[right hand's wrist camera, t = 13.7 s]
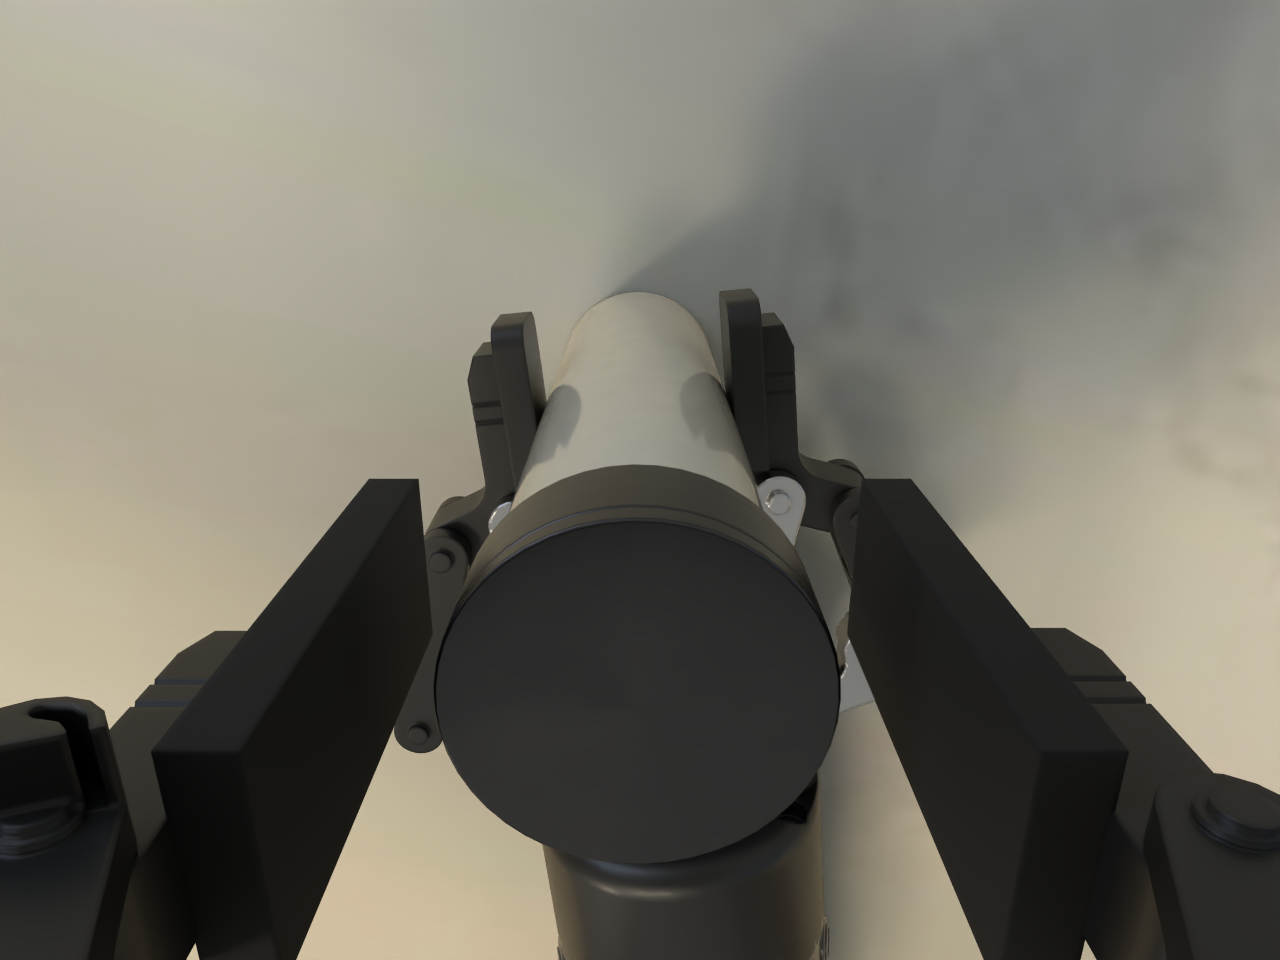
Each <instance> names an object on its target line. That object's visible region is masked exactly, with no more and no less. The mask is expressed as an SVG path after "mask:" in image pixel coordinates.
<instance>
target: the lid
mask: <svg viewBox="0 0 1280 960" xmlns="http://www.w3.org/2000/svg"><path fill="white" fill-rule="evenodd" d="M433 687H434V708H435V713H436V718H437V723H438V728H439V732H440V734H441V737H442V740H443V743H444V745H445V748H446V751H447V753H448V755H449V757H450V759H451V761H452V763H453V765H454V766H455V768H456V770H457V772H458V774H459V775H460V776H461V778H462V779H463V781H464V782H465V783H466V785H467V786H468V787H469V789H470V790H471V791H472V792H473V794H474V795H475V796H476V797H477V798H478V799H479V800H480V801H481V802H482V803H483V804H484V805H485V806H486V807H487V808H488V809H489V810H490V811H492V812H493V813H494V814H495V815H496V816H498V817H499V818H500V819H501V820H502V821H504V822H505V823H506V824H508V825H510V826H511V827H513V828H514V829H516V830H517V831H519V832H521V833H522V834H524V835H525V836H527V837H529V838H531V839H533V840H535V841H538V842H540V843H542V844H544V845H546V846H548V847H551V848H554V849H556V850H559V851H562V852H565V853H568V854H571V855H575V856H579V857H583V858H587V859H591V860H597V861H605V862H612V863H627V864H649V863H663V862H671V861H676V860H682V859H688V858H692V857H696V856H699V855H703V854H706V853H710V852H713V851H716V850H718V849H721V848H723V847H726V846H728V845H731V844H733V843H736V842H738V841H739V840H741V839H743V838H745V837H747V836H749V835H750V834H752V833H754V832H756V831H758V830H759V829H761V828H762V827H763V826H765V825H766V824H768V823H769V822H770V821H772V820H773V819H775V818H776V817H777V816H778V815H780V814H781V813H782V812H783V811H784V810H785V809H786V808H787V807H788V806H790V805H791V804H792V803H793V802H794V801H795V800H796V799H797V797H798V796H799V795H800V794H801V793H802V792H803V790H804V789H805V788H806V787H807V786H808V785H809V783H810V782H811V780H812V779H813V777H814V775H815V774H816V772H817V771H818V769H819V768H820V766H821V765H822V762H823V760H824V758H825V756H826V754H827V752H828V750H829V747H830V745H831V742H832V739H833V736H834V733H835V729H836V726H837V723H838V716H839V709H840V703H841V676H840V670H839V664H838V658H837V653H836V650H835V647H834V644H833V641H832V638H831V635H830V632H829V629H828V627H827V624H826V622H825V619H824V617H823V614H822V611H821V609H820V606H819V604H818V601H817V599H816V596H815V593H814V591H813V588H812V586H811V583H810V581H809V578H808V575H807V573H806V570H805V568H804V565H803V563H802V561H801V559H800V558H799V556H798V554H797V552H796V550H795V548H794V546H793V545H792V543H791V542H790V540H789V539H788V538H787V536H786V535H785V533H784V532H783V531H782V529H781V528H780V527H779V526H778V525H777V524H776V523H775V522H774V521H773V520H772V518H771V517H770V516H769V515H768V514H767V513H766V512H765V511H763V510H762V509H761V508H760V507H758V506H757V505H756V504H755V503H753V502H752V501H751V500H750V499H748V498H747V497H745V496H744V495H742V494H740V493H739V492H737V491H735V490H734V489H732V488H730V487H729V486H727V485H725V484H722V483H720V482H718V481H715V480H713V479H711V478H709V477H706V476H703V475H700V474H697V473H693V472H690V471H686V470H683V469H678V468H671V467H665V466H659V465H638V464H630V465H618V466H608V467H603V468H598V469H593V470H589V471H584V472H581V473H578V474H575V475H572V476H569V477H567V478H564V479H561V480H559V481H557V482H555V483H553V484H551V485H549V486H547V487H545V488H543V489H541V490H539V491H537V492H536V493H534V494H533V495H532V496H530V497H529V498H527V499H526V500H524V501H523V502H521V503H520V504H519V505H517V506H516V507H515V508H514V509H513V510H512V511H511V512H510V513H508V514H507V515H506V516H505V517H504V518H503V519H502V520H501V521H500V522H499V524H498V525H497V526H496V527H495V528H494V530H493V531H492V532H491V533H490V534H489V535H488V537H487V539H486V540H485V542H484V543H483V545H482V546H481V548H480V550H479V551H478V553H477V555H476V557H475V559H474V561H473V564H472V566H471V568H470V570H469V573H468V575H467V578H466V580H465V583H464V585H463V588H462V590H461V593H460V596H459V598H458V601H457V603H456V606H455V608H454V611H453V613H452V616H451V618H450V621H449V624H448V626H447V629H446V631H445V634H444V636H443V639H442V642H441V646H440V649H439V653H438V657H437V660H436V667H435V676H434V685H433Z"/></svg>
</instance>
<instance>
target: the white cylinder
mask: <svg viewBox="0 0 1280 960" xmlns="http://www.w3.org/2000/svg"><path fill="white" fill-rule="evenodd" d="M630 464H638V465H659V466H665V467H671V468H678V469H683V470H686V471H690V472H693V473H697V474H700V475H703V476H706V477H709V478H711V479H713V480H715V481H718V482H720V483H722V484H725V485H727V486H729V487H730V488H732V489H734V490H735V491H737V492H739V493H740V494H742V495H744V496H745V497H747V498H748V499H750V500H751V501H752V502H753V503H755V504H756V505H757V506H758V507H760V508H761V509H762V510H763V511H765V512H766V510H765V507H764V504H763V501H762V498H761V495H760V492H759V489H758V487H757V484H756V481H755V478H754V475H753V472H752V469H751V466H750V463H749V461H748V458H747V455H746V452H745V449H744V446H743V443H742V440H741V437H740V434H739V432H738V429H737V426H736V423H735V420H734V417H733V414H732V411H731V408H730V405H729V403H728V400H727V397H726V394H725V391H724V388H723V385H722V382H721V379H720V376H719V374H718V371H717V368H716V365H715V362H714V359H713V356H712V353H711V350H710V347H709V345H708V342H707V339H706V336H705V334H704V332H703V330H702V328H701V327H700V325H699V324H698V322H697V321H696V319H695V318H694V317H693V316H692V315H691V314H690V313H689V312H688V311H687V310H686V309H684V308H683V307H682V306H681V305H679V304H677V303H676V302H674V301H672V300H670V299H668V298H666V297H663V296H660V295H657V294H653V293H647V292H629V293H623V294H619V295H615V296H612V297H610V298H607V299H605V300H603V301H601V302H600V303H598V304H596V305H595V306H594V307H592V308H591V309H590V310H589V311H588V312H587V313H586V314H584V315H583V317H582V318H581V319H580V320H579V322H578V323H577V324H576V326H575V328H574V329H573V331H572V333H571V336H570V338H569V340H568V343H567V346H566V349H565V352H564V354H563V357H562V360H561V363H560V366H559V369H558V372H557V375H556V377H555V380H554V383H553V386H552V389H551V392H550V395H549V397H548V400H547V403H546V406H545V409H544V412H543V415H542V418H541V420H540V423H539V426H538V429H537V432H536V435H535V438H534V440H533V443H532V446H531V449H530V452H529V455H528V458H527V461H526V463H525V466H524V469H523V472H522V475H521V478H520V481H519V483H518V486H517V489H516V492H515V495H514V498H513V501H512V504H511V506H510V509H509V512H508V513H510V512H511V511H512V510H513V509H514V508H515V507H516V506H517V505H519V504H520V503H521V502H523V501H524V500H526V499H527V498H529V497H530V496H532V495H533V494H534V493H536V492H537V491H539V490H541V489H543V488H545V487H547V486H549V485H551V484H553V483H555V482H557V481H559V480H561V479H564V478H567V477H569V476H572V475H575V474H578V473H581V472H584V471H589V470H593V469H598V468H603V467H608V466H618V465H630Z"/></svg>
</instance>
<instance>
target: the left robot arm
mask: <svg viewBox="0 0 1280 960" xmlns="http://www.w3.org/2000/svg"><path fill="white" fill-rule="evenodd" d="M719 303H720V319H721V334H722V349H723V363H724V378H725V393H726V397H727V400H728V403H729V405H730V408H731V411H732V414H733V417H734V420H735V423H736V426H737V429H738V432H739V434H740V437H741V440H742V443H743V446H744V449H745V452H746V455H747V458H748V461H749V463H750V466H751V469H752V472H753V475H754V478H755V481H756V484H757V487H758V489H759V492H760V495H761V498H762V501H763V504H764V507H765V510H766V513H767V514H768V515H769V516H770V517H771V518H772V520H773V521H774V522H775V523H776V524H777V525H778V526H779V527H780V528H781V529H782V531H783V532H784V533H785V535H786V536H787V538H788V539H789V540H790V542H791V543H792V545H793V546H794V545H795V541H796V538H797V534H798V531H799V527H800V526H805V527H809V528H813V529H817V530H822V531H826V532H830V533H831V536H832V539H833V541H834V544H835V547H836V549H837V552H838V555H839V557H840V560H841V563H842V565H843V568H844V571H845V573H846V576H847V579H848V582H849V584H850V587H851V586H852V575H853V565H854V554H855V544H856V533H857V522H858V512H859V501H860V490H861V480H862V479H865V478H864V476H863V475H862V473H861V472H860V470H859V469H858V467H857V466H856V465H855V464H854V463H852V462H850V461H848V460H844V459H834V460H831V461H828V462H824V461H820V460H815V459H811V458H808V457H806V456H804V455H802V454H801V453H799V452H798V438H797V412H796V393H795V390H796V387H795V361H794V346H793V344H792V342H791V340H790V337H789V335H788V333H787V331H786V329H785V327H784V325H783V323H782V322H781V321H780V320H779V318H778V317H777V316H776V314H775V313H765V314H761V310H760V304H759V300H758V297H757V296H756V295H755V293H754V292H753V291H752V290H751V288H750V289H740V290H730V291H720V293H719ZM468 386H469V392H470V397H471V403H472V406H473V408H472V409H473V414H474V420H475V423H476V432H477V437H478V443H479V449H480V454H481V460H482V466H483V471H484V477H485V485H486V486H485V487H483V488H482V489H480V490H479V491H477V492H475V493H472V494H470V495H468V496H466V497H462V496H457V497H452V498H449V499H447V500H446V501H444V502H443V503H442V504H441V506H440V507H439V509H438V511H437V513H436V515H435V516H434V518H433V520H432V522H431V524H430V526H429V528H428V529H427V531H426V533H425V535H424V544H425V554H426V565H427V576H428V586H429V597H430V608H431V618H432V629H433V635H432V637H431V640H430V642H429V645H428V647H427V649H426V652H425V654H424V656H423V659H422V661H421V664H420V666H419V668H418V671H417V673H416V675H415V678H414V680H413V683H412V685H411V687H410V690H409V692H408V695H407V697H406V699H405V702H404V704H403V706H402V709H401V711H400V714H399V716H398V718H397V721H396V723H395V727H394V734H395V737H396V740H397V741H398V743H399V744H400V745H401V746H402V747H403V748H405V749H407V750H409V751H411V752H415V753H427V752H430V751H433V750H434V749H436V748H437V747H438V746H439V745H440V744H441V742H442V737H441V734H440V732H439V728H438V723H437V718H436V713H435V708H434V687H433V685H434V676H435V667H436V660H437V657H438V653H439V649H440V646H441V642H442V639H443V636H444V634H445V631H446V629H447V626H448V624H449V621H450V618H451V616H452V613H453V611H454V608H455V606H456V603H457V601H458V598H459V596H460V593H461V590H462V588H463V585H464V583H465V580H466V578H467V575H468V573H469V570H470V568H471V566H472V564H473V561H474V559H475V557H476V555H477V553H478V551H479V550H480V548H481V546H482V545H483V543H484V542H485V540H486V539H487V537H488V535H489V534H490V533H491V532H492V531H493V530H494V528H495V527H496V526H497V525H498V524H499V522H500V521H501V520H502V519H503V518H504V517H505V516H506V515H507V514H508V512H509V509H510V506H511V504H512V501H513V498H514V495H515V492H516V489H517V486H518V483H519V481H520V478H521V475H522V472H523V469H524V466H525V463H526V461H527V458H528V455H529V452H530V449H531V446H532V443H533V440H534V438H535V435H536V432H537V429H538V426H539V423H540V420H541V418H542V415H543V412H544V409H545V406H546V403H547V402H546V395H545V388H544V381H543V374H542V367H541V360H540V353H539V346H538V339H537V332H536V326H535V321H534V317H533V314H532V312H522V313H512V314H502V315H500V316H499V317H498V319H497V320H496V321H495V323H494V324H493V325H492V327H491V342H485V343H483V344H482V345H481V347H480V348H479V349H478V350H477V352H476V353H475V354H474V356H473V358H472V363H471V367H470V371H469V376H468ZM848 618H849V612H847V613H846V615H845V618H843V619H842V621H841V622H840V623H839V625H838V628H837V640H838V648H837V651H836V653H837V658H838V664H839V670H840V676H841V703H840V709H839V713H841V712H844V711H847V710H850V709H853V708H855V707H858V706H861V705H864V704H867V703H870V702H873V701H875V699H874V697H873V695H872V692H871V690H870V687H869V685H868V683H867V680H866V678H865V676H864V673H863V671H862V668H861V666H860V664H859V661H858V659H857V656H856V654H855V652H854V649H853V647H852V645H851V642H850V640H849V637H848V635H847V629H848ZM543 850H544V855H545V861H546V867H547V872H548V878H549V884H550V889H551V895H552V901H553V906H554V912H555V918H556V923H557V929H558V934H559V937H558V947H557V951H558V958H559V960H828V955H829V924H828V922H827V920H826V916H825V915H824V893H823V866H822V838H821V811H820V783H819V769H818V771H817V772H816V774H815V775H814V777H813V779H812V780H811V782H810V783H809V785H808V786H807V787H806V788H805V789H804V790H803V792H802V793H801V794H800V795H799V796H798V797H797V799H796V800H795V801H794V802H793V803H792V804H791V805H790V806H788V807H787V808H786V809H785V810H784V811H783V812H782V813H781V814H780V815H778V816H777V817H776V818H775V819H773V820H772V821H770V822H769V823H768V824H766V825H765V826H763V827H762V828H761V829H759V830H758V831H756V832H754V833H752V834H750V835H749V836H747V837H745V838H743V839H741V840H739V841H738V842H736V843H733V844H731V845H728V846H726V847H723V848H721V849H718V850H716V851H713V852H710V853H706V854H703V855H699V856H696V857H692V858H688V859H682V860H676V861H671V862H663V863H649V864H627V863H612V862H605V861H597V860H591V859H587V858H583V857H579V856H575V855H571V854H568V853H565V852H562V851H559V850H556V849H554V848H551V847H548V846H546V845H544V844H543Z"/></svg>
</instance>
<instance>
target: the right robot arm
mask: <svg viewBox="0 0 1280 960" xmlns="http://www.w3.org/2000/svg"><path fill="white" fill-rule="evenodd" d="M432 635H433V629H432V618H431V608H430V597H429V586H428V576H427V565H426V554H425V544H424V533H423V522H422V512H421V501H420V490H419V480H418V479H369V480H368V481H367V482H366V483H365V485H364V486H363V487H362V488H361V490H360V491H359V492H358V493H357V495H356V496H355V497H354V498H353V500H352V501H351V502H350V503H349V505H348V506H347V507H346V508H345V510H344V511H343V512H342V513H341V515H340V516H339V517H338V518H337V520H336V521H335V522H334V523H333V525H332V526H331V527H330V528H329V530H328V531H327V532H326V533H325V535H324V536H323V537H322V538H321V540H320V541H319V542H318V543H317V545H316V546H315V547H314V548H313V550H312V551H311V552H310V553H309V555H308V556H307V557H306V558H305V560H304V561H303V562H302V563H301V565H300V566H299V567H298V568H297V570H296V571H295V572H294V573H293V575H292V576H291V577H290V578H289V579H288V581H287V582H286V583H285V584H284V586H283V587H282V588H281V589H280V591H279V592H278V593H277V594H276V596H275V597H274V598H273V599H272V601H271V602H270V603H269V604H268V606H267V607H266V608H265V609H264V611H263V612H262V613H261V614H260V616H259V617H258V618H257V619H256V621H255V622H254V623H253V624H252V626H251V627H250V628H249V629H248V631H214V632H213V633H211V634H209V635H208V636H206V637H204V638H203V639H201V640H200V641H198V642H196V643H195V644H193V645H191V646H190V647H188V648H186V649H185V650H183V651H181V652H180V653H178V654H177V655H176V657H175V658H174V659H173V660H172V661H171V662H170V663H169V664H168V665H167V667H166V668H165V669H164V670H163V671H162V672H161V673H160V674H159V675H158V677H157V678H156V679H155V684H154V685H149V686H148V688H147V689H146V690H145V691H144V692H143V693H142V694H141V695H140V696H139V698H138V699H137V700H136V701H135V707H130V708H129V709H128V710H127V711H126V712H125V713H124V714H123V715H122V716H121V718H120V719H119V720H118V721H117V722H116V723H115V724H114V725H113V726H112V728H111V729H110V730H109V728H108V724H107V720H106V716H105V712H104V710H102V709H101V708H100V707H98V706H97V705H96V704H94V703H93V702H92V701H90V700H84V699H78V698H72V697H55V698H43V699H34V700H30V701H26V702H22V703H18V704H14V705H10V706H6V707H2V708H0V960H186V959H187V957H188V955H189V953H190V952H191V950H192V948H193V946H194V944H195V943H196V947H197V951H198V955H199V960H296V959H297V956H298V954H299V952H300V949H301V947H302V945H303V942H304V940H305V937H306V935H307V933H308V930H309V928H310V925H311V923H312V921H313V918H314V916H315V914H316V911H317V909H318V906H319V904H320V902H321V899H322V897H323V895H324V892H325V890H326V887H327V885H328V883H329V880H330V878H331V875H332V873H333V871H334V868H335V866H336V864H337V861H338V859H339V856H340V854H341V852H342V849H343V847H344V845H345V842H346V840H347V837H348V835H349V833H350V830H351V828H352V825H353V823H354V821H355V818H356V816H357V814H358V811H359V809H360V806H361V804H362V802H363V799H364V797H365V795H366V792H367V790H368V787H369V785H370V783H371V780H372V778H373V775H374V773H375V771H376V768H377V766H378V764H379V761H380V759H381V756H382V754H383V752H384V749H385V747H386V745H387V742H388V740H389V737H390V735H391V733H392V730H393V728H394V725H395V723H396V721H397V718H398V716H399V714H400V711H401V709H402V706H403V704H404V702H405V699H406V697H407V695H408V692H409V690H410V687H411V685H412V683H413V680H414V678H415V675H416V673H417V671H418V668H419V666H420V664H421V661H422V659H423V656H424V654H425V652H426V649H427V647H428V645H429V642H430V640H431V637H432ZM847 635H848V637H849V640H850V642H851V645H852V647H853V649H854V652H855V654H856V656H857V659H858V661H859V664H860V666H861V668H862V671H863V673H864V676H865V678H866V680H867V683H868V685H869V687H870V690H871V692H872V695H873V697H874V699H875V702H876V704H877V706H878V709H879V711H880V714H881V716H882V718H883V721H884V723H885V726H886V728H887V730H888V733H889V735H890V737H891V740H892V742H893V745H894V747H895V749H896V752H897V754H898V756H899V759H900V761H901V764H902V766H903V768H904V771H905V773H906V776H907V778H908V780H909V783H910V785H911V787H912V790H913V792H914V795H915V797H916V799H917V802H918V804H919V806H920V809H921V811H922V814H923V816H924V818H925V821H926V823H927V826H928V828H929V830H930V833H931V835H932V837H933V840H934V842H935V845H936V847H937V849H938V852H939V854H940V856H941V859H942V861H943V864H944V866H945V868H946V871H947V873H948V876H949V878H950V880H951V883H952V885H953V887H954V890H955V892H956V895H957V897H958V899H959V902H960V904H961V906H962V909H963V911H964V914H965V916H966V918H967V921H968V923H969V926H970V928H971V930H972V933H973V935H974V937H975V940H976V942H977V945H978V947H979V949H980V952H981V954H982V956H983V959H984V960H1080V959H1081V955H1082V951H1083V947H1084V942H1085V940H1086V941H1087V943H1088V945H1089V947H1090V949H1091V950H1092V952H1093V954H1094V956H1095V958H1096V959H1097V960H1280V795H1279V794H1277V793H1275V792H1273V791H1271V790H1269V789H1266V788H1264V787H1262V786H1260V785H1258V784H1256V783H1252V782H1249V781H1245V780H1242V779H1239V778H1235V777H1232V776H1228V775H1225V774H1217V773H1213V772H1212V771H1211V770H1210V768H1209V767H1208V766H1207V765H1206V764H1205V763H1204V762H1203V761H1202V760H1201V759H1200V757H1199V756H1198V755H1197V754H1196V753H1195V752H1194V751H1193V750H1192V749H1191V748H1190V746H1189V745H1188V744H1187V743H1186V742H1185V741H1184V740H1183V739H1182V738H1181V737H1180V735H1179V734H1178V733H1177V732H1176V731H1175V730H1174V729H1173V728H1172V727H1171V726H1170V724H1169V723H1168V722H1167V721H1166V720H1165V719H1164V718H1163V717H1162V716H1161V714H1160V713H1159V712H1158V711H1157V710H1156V709H1155V708H1154V707H1153V706H1152V705H1151V704H1146V698H1145V697H1144V696H1143V695H1142V694H1141V692H1140V691H1139V690H1138V689H1137V688H1136V687H1135V686H1134V685H1133V684H1132V683H1131V682H1127V681H1126V676H1125V675H1124V674H1123V673H1122V672H1121V670H1120V669H1119V668H1118V667H1117V666H1116V665H1115V664H1114V663H1113V662H1112V661H1111V659H1110V658H1109V657H1108V656H1107V655H1106V654H1105V653H1104V652H1103V651H1102V650H1101V649H1099V648H1098V647H1096V646H1094V645H1093V644H1091V643H1089V642H1088V641H1086V640H1084V639H1083V638H1081V637H1079V636H1078V635H1076V634H1074V633H1073V632H1071V631H1069V630H1068V629H1066V628H1030V627H1029V626H1028V624H1027V623H1026V622H1025V621H1024V619H1023V618H1022V617H1021V616H1020V614H1019V613H1018V612H1017V611H1016V609H1015V608H1014V607H1013V606H1012V604H1011V603H1010V602H1009V601H1008V599H1007V598H1006V597H1005V596H1004V594H1003V593H1002V592H1001V591H1000V589H999V588H998V587H997V586H996V585H995V583H994V582H993V581H992V580H991V578H990V577H989V576H988V575H987V573H986V572H985V571H984V570H983V568H982V567H981V566H980V565H979V563H978V562H977V561H976V560H975V558H974V557H973V556H972V555H971V553H970V552H969V551H968V550H967V548H966V547H965V546H964V545H963V543H962V542H961V541H960V540H959V538H958V537H957V536H956V535H955V533H954V532H953V531H952V530H951V528H950V527H949V526H948V525H947V523H946V522H945V521H944V520H943V518H942V517H941V516H940V515H939V513H938V512H937V511H936V510H935V508H934V507H933V506H932V505H931V503H930V502H929V501H928V500H927V498H926V497H925V496H924V495H923V493H922V492H921V491H920V490H919V488H918V487H917V486H916V485H915V483H914V482H913V481H912V480H911V479H862V480H861V490H860V501H859V512H858V522H857V533H856V544H855V554H854V565H853V575H852V586H851V597H850V607H849V618H848V629H847Z"/></svg>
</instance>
